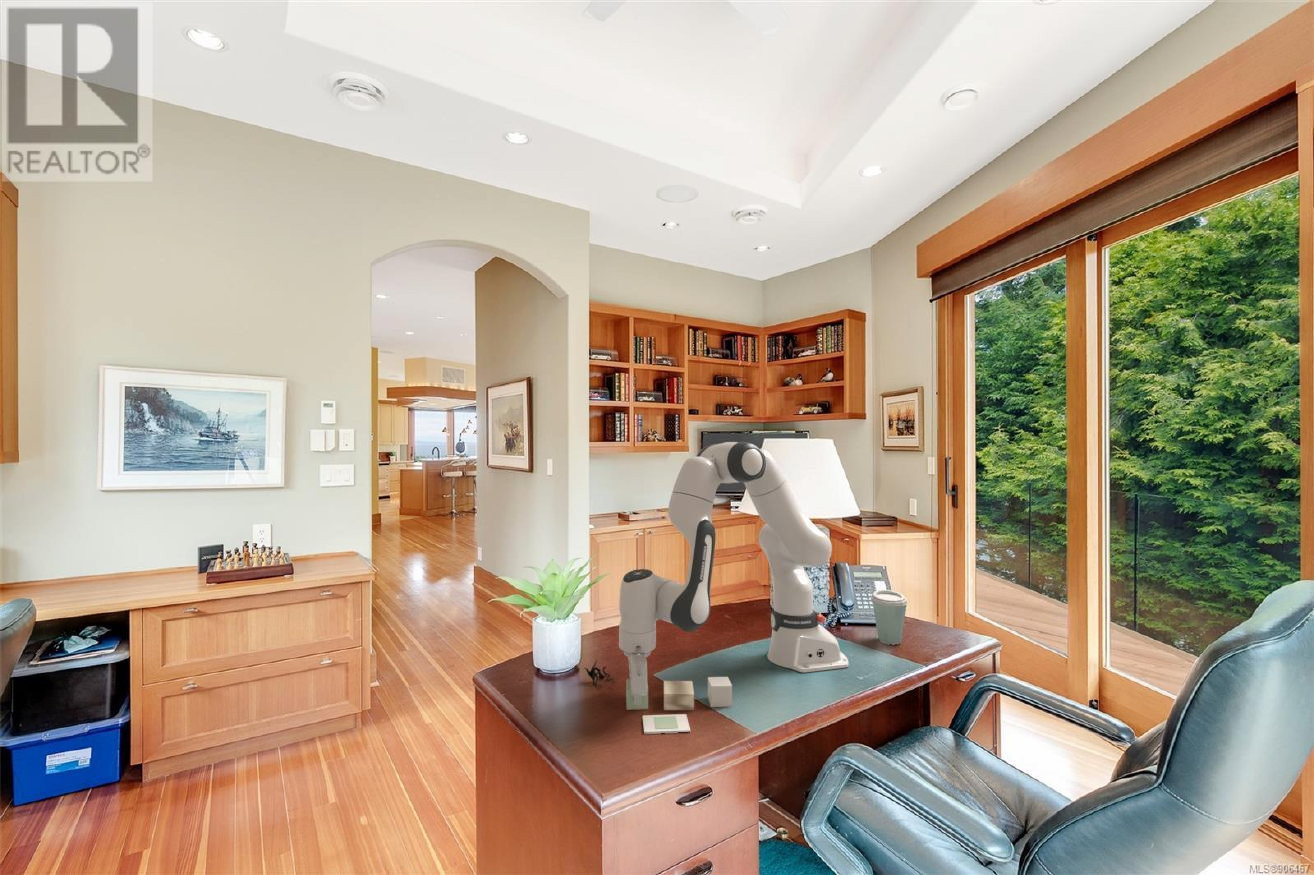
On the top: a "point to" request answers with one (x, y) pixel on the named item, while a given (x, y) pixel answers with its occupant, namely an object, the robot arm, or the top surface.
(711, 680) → the grey cube
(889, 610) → the disposable coffee cup
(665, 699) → the birch block
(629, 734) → the top surface
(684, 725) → the tile
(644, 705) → the sage cube
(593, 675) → the creature
